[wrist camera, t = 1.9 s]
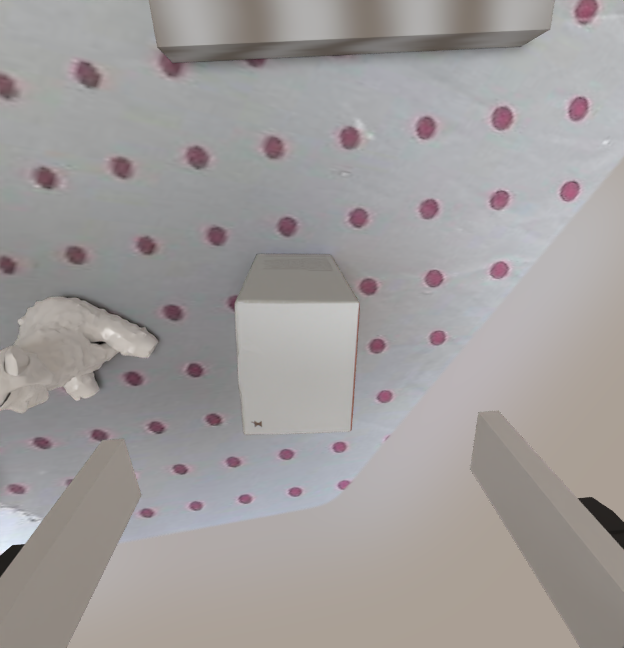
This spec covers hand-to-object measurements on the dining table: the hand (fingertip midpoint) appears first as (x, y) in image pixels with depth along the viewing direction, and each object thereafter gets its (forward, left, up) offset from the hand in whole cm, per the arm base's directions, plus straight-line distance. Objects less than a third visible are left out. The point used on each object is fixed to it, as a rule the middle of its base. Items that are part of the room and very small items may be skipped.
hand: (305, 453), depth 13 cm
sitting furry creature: (-18, -2, -19) cm, 26 cm away
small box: (0, 0, -19) cm, 19 cm away
